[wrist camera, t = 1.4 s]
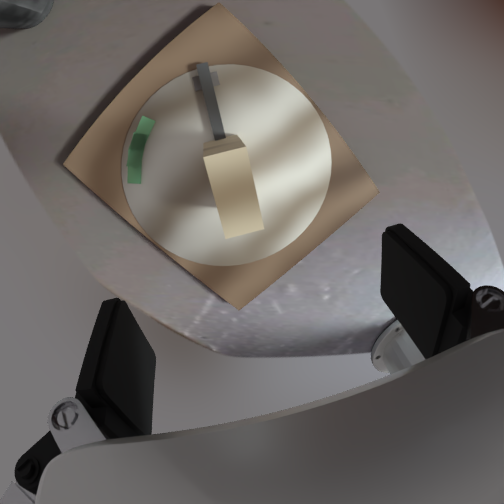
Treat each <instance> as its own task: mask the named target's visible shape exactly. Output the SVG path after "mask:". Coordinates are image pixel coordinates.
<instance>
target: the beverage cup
mask: <svg viewBox="0 0 504 504" xmlns="http://www.w3.org/2000/svg"><path fill="white" fill-rule="evenodd" d="M53 2H54V0H0V28H15V29H17V28H31V27H34V26H36V25H38V24H39V23H40V22H42V21H43V20H44V19H45V17H46V16H47V15H48V14H49V12H50V10H51V8H52V5H53Z"/></svg>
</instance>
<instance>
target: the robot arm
mask: <svg viewBox="0 0 504 504" xmlns="http://www.w3.org/2000/svg"><path fill="white" fill-rule="evenodd" d="M380 291H381V296H382V299H383V300H384V302H385V303H386V305H387V306H388V307H389V309H390V310H391V311H392V313H393V314H394V315H395V317H396V318H397V320H396V321H395V322H393V323H392V324H391V325H390V326H389V327H388V328H387V329H386V330H385V331H384V332H383V333H382V334H381V335H380V336H379V338H378V339H377V341H376V342H375V344H374V347H373V349H372V352H371V360H372V363H373V365H374V367H375V368H376V369H377V370H378V371H381V372H385V373H390V374H391V375H388V376H386V377H383V378H381V379H378V380H375V381H373V382H370V383H367V384H365V385H362V386H359V387H356V388H353V389H350V390H347V391H345V392H342V393H339V394H336V395H333V396H329V397H326V398H323V399H320V400H317V401H313V402H310V403H307V404H303V405H300V406H296V407H292V408H289V409H285V410H281V411H277V412H274V413H269V414H265V415H261V416H257V417H252V418H248V419H243V420H239V421H234V422H229V423H224V424H219V425H214V426H208V427H202V428H196V429H189V430H182V431H175V432H168V433H162V434H161V433H160V434H153V435H151V432H152V411H153V409H152V408H153V394H154V379H155V366H156V356H155V353H154V351H153V349H152V347H151V346H150V344H149V342H148V341H147V339H146V337H145V336H144V334H143V332H142V330H141V329H140V327H139V325H138V324H137V322H136V320H135V318H134V316H133V314H132V313H131V311H130V309H129V307H128V305H127V303H126V302H125V301H121V300H120V299H119V298H114V299H110V300H106V301H103V302H102V305H101V308H100V310H99V314H98V316H97V319H96V322H95V325H94V328H93V332H92V335H91V338H90V341H89V344H88V348H87V351H86V354H85V357H84V361H83V365H82V368H81V372H80V375H79V379H78V383H77V386H76V396H75V398H73V397H67V398H64V399H62V400H60V401H58V402H57V403H56V404H55V405H54V406H53V408H52V409H51V411H50V413H49V416H48V426H49V429H50V431H49V432H48V433H47V434H46V435H45V436H43V437H42V438H41V439H40V440H39V441H38V442H37V443H36V444H35V445H33V446H32V447H31V448H30V449H29V450H28V451H27V452H26V453H25V454H23V455H22V456H21V458H20V459H19V460H18V462H17V464H16V467H15V478H16V483H14V482H11V484H10V485H9V487H8V488H7V490H6V492H5V493H4V495H3V497H2V498H1V500H0V504H504V292H503V291H502V290H501V289H499V288H497V287H494V286H480V287H478V288H477V289H475V290H474V291H473V290H471V289H470V283H469V282H468V281H466V280H465V279H464V278H463V277H462V276H461V275H460V274H459V273H458V272H457V271H456V270H455V269H454V268H453V267H452V266H450V265H449V264H448V263H447V262H446V261H445V260H444V259H443V258H442V257H440V256H439V255H438V254H437V253H436V252H435V251H434V250H433V249H431V248H430V247H429V246H428V245H427V244H426V243H424V242H423V241H422V240H421V239H420V238H419V237H417V236H416V235H415V234H414V233H413V232H411V231H410V230H409V229H408V228H407V227H405V226H404V225H403V224H397V225H393V226H389V227H387V228H386V230H385V232H383V234H382V265H381V289H380Z"/></svg>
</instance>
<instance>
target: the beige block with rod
mask: <svg viewBox="0 0 504 504" xmlns="http://www.w3.org/2000/svg"><path fill="white" fill-rule="evenodd" d="M196 66H197V71H198V75H199V79H200V83H201V87H202V91H203V95H204V99H205V103H206V107H207V111H208V115H209V119H210V123H211V127H212V131H213V135H214V139H215V140H213V141H209V142H205V143H203V159H204V162H205V166H206V170H207V173H208V177H209V181H210V184H211V188H212V192H213V195H214V199H215V203H216V206H217V210H218V214H219V217H220V221H221V224H222V228H223V231H224V235H225V239H228V238H232V237H236V236H240V235H244V234H247V233H251V232H255V231H259V230H263V229H264V225H263V220H262V216H261V211H260V206H259V202H258V197H257V193H256V188H255V183H254V179H253V174H252V170H251V165H250V161H249V156H248V152H247V148H246V146H245V144H244V143H243V142H242V140H241V139H240V138H239V136H238V135H233V136H229V137H226V136H225V132H224V128H223V124H222V120H221V115H220V111H219V107H218V103H217V99H216V95H215V91H214V87H213V82H212V78H211V74H210V70H209V66H208V62H205V63H201V64H197V65H196Z"/></svg>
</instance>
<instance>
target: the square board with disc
mask: <svg viewBox="0 0 504 504" xmlns="http://www.w3.org/2000/svg"><path fill="white" fill-rule="evenodd" d="M205 62H208V66H209V70H210V74H211V78H212V82H213V87H214V91H215V95H216V99H217V103H218V107H219V111H220V115H221V120H222V124H223V128H224V132H225V136H226V137H229V136H233V135H238V136H239V138H240V139H241V140H242V142H243V143H244V144H245V146H246V148H247V152H248V156H249V161H250V165H251V170H252V174H253V179H254V183H255V188H256V193H257V197H258V202H259V206H260V211H261V216H262V220H263V225H264V229H263V230H259V231H255V232H251V233H247V234H244V235H240V236H236V237H232V238H228V239H225V235H224V231H223V228H222V224H221V221H220V217H219V214H218V210H217V206H216V203H215V199H214V195H213V192H212V188H211V184H210V181H209V177H208V173H207V170H206V166H205V162H204V159H203V143H205V142H209V141H213V140H215V139H214V135H213V131H212V127H211V123H210V119H209V115H208V111H207V107H206V103H205V99H204V95H203V91H202V87H201V83H200V79H199V75H198V71H197V66H196V65H197V64H201V63H205ZM63 165H64V166H65V167H66V168H67V169H69V170H70V171H71V172H72V173H73V174H74V175H75V176H76V177H77V178H78V179H80V180H81V181H82V182H83V183H84V184H85V185H86V186H87V187H89V188H90V189H91V190H92V191H93V192H94V193H95V194H96V195H98V196H99V197H100V198H101V199H102V200H103V201H104V202H106V203H107V204H108V205H109V206H110V207H111V208H112V209H114V210H115V211H116V212H117V213H118V214H119V215H121V216H122V217H123V218H124V219H125V220H126V221H128V222H129V223H130V224H131V225H132V226H134V227H135V228H136V229H137V230H138V231H140V232H141V233H142V234H143V235H144V236H146V237H147V238H148V239H149V240H150V241H152V242H153V243H154V244H155V245H156V246H158V247H159V248H160V249H161V250H163V251H164V252H165V253H166V254H167V255H169V256H170V257H171V258H172V259H174V260H175V261H176V262H177V263H179V264H180V265H181V266H182V267H184V268H185V269H186V270H187V271H189V272H190V273H191V274H192V275H194V276H195V277H196V278H197V279H199V280H200V281H201V282H203V283H204V284H205V285H206V286H208V287H209V288H210V289H212V290H213V291H214V292H215V293H217V294H218V295H219V296H221V297H222V298H223V299H225V300H226V301H227V302H228V303H230V304H231V305H232V306H234V307H235V308H236V309H238V310H240V309H242V308H243V307H244V306H245V305H247V304H248V303H249V302H250V301H252V300H253V299H254V298H255V297H257V296H258V295H259V294H260V293H261V292H263V291H264V290H265V289H266V288H268V287H269V286H270V285H271V284H273V283H274V282H275V281H276V280H277V279H279V278H280V277H281V276H282V275H284V274H285V273H286V272H287V271H288V270H290V269H291V268H292V267H293V266H294V265H296V264H297V263H298V262H299V261H300V260H302V259H303V258H304V257H305V256H306V255H308V254H309V253H310V252H311V251H312V250H314V249H315V248H316V247H317V246H318V245H320V244H321V243H322V242H323V241H324V240H325V239H327V238H328V237H329V236H330V235H331V234H333V233H334V232H335V231H336V230H337V229H338V228H340V227H341V226H342V225H343V224H344V223H345V222H347V221H348V220H349V219H350V218H351V217H352V216H353V215H355V214H356V213H357V212H358V211H359V210H360V209H362V208H363V207H364V206H365V205H366V204H367V203H368V202H370V201H371V200H372V199H373V198H374V197H375V196H376V195H377V194H379V193H380V192H379V190H378V189H377V187H376V186H375V184H374V183H373V181H372V180H371V178H370V177H369V175H368V174H367V172H366V171H365V169H364V168H363V167H362V165H361V164H360V162H359V161H358V159H357V158H356V156H355V155H354V154H353V152H352V151H351V150H350V148H349V147H348V145H347V144H346V143H345V141H344V140H343V139H342V137H341V136H340V135H339V133H338V132H337V131H336V129H335V128H334V127H333V125H332V124H331V123H330V121H329V120H328V119H327V118H326V116H325V115H324V114H323V113H322V111H321V110H320V109H319V108H318V106H317V105H316V104H315V103H314V101H313V100H312V99H311V98H310V97H309V95H308V94H307V93H306V92H305V91H304V89H303V88H302V87H301V86H300V85H299V84H298V82H297V81H296V80H295V79H294V78H293V77H292V75H291V74H290V73H289V72H288V71H287V70H286V69H285V68H284V67H283V65H282V64H281V63H280V62H279V61H278V60H277V59H276V58H275V57H274V56H273V55H272V54H271V52H270V51H269V50H268V49H267V48H266V47H265V46H264V45H263V44H262V43H261V42H260V41H259V40H258V39H257V38H256V37H255V36H254V35H253V34H252V33H251V32H250V31H249V30H248V29H247V28H246V27H245V26H244V25H243V24H242V23H241V22H240V21H239V20H238V19H237V18H236V17H235V16H233V15H232V14H231V13H230V12H229V11H228V10H227V9H226V8H225V7H224V6H223V5H221V4H220V3H217V4H216V5H215V6H213V7H212V8H211V9H209V10H208V11H207V12H206V13H204V14H203V15H202V16H200V17H199V18H198V19H197V20H196V21H194V22H193V23H192V24H191V25H189V26H188V27H187V28H186V29H185V30H184V31H182V32H181V33H180V34H179V35H178V36H177V37H175V38H174V39H173V40H172V41H171V42H170V43H169V44H168V45H167V46H166V47H164V48H163V49H162V50H161V51H160V52H159V53H158V54H157V55H156V56H155V57H154V58H153V59H152V60H151V61H150V62H149V63H148V64H147V65H146V66H145V67H144V68H143V69H142V70H141V71H140V72H139V73H138V74H137V75H136V76H135V77H134V78H133V79H132V80H131V81H130V82H129V83H128V84H127V85H126V86H125V87H124V89H123V90H122V91H121V92H120V93H119V94H118V95H117V96H116V97H115V99H114V100H113V101H112V102H111V103H110V104H109V105H108V107H107V108H106V109H105V110H104V111H103V112H102V114H101V115H100V116H99V117H98V119H97V120H96V121H95V122H94V123H93V125H92V126H91V127H90V128H89V130H88V131H87V132H86V134H85V135H84V136H83V137H82V139H81V140H80V141H79V143H78V144H77V145H76V147H75V148H74V149H73V151H72V152H71V154H70V155H69V156H68V158H67V159H66V161H65V162H64V163H63Z"/></svg>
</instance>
